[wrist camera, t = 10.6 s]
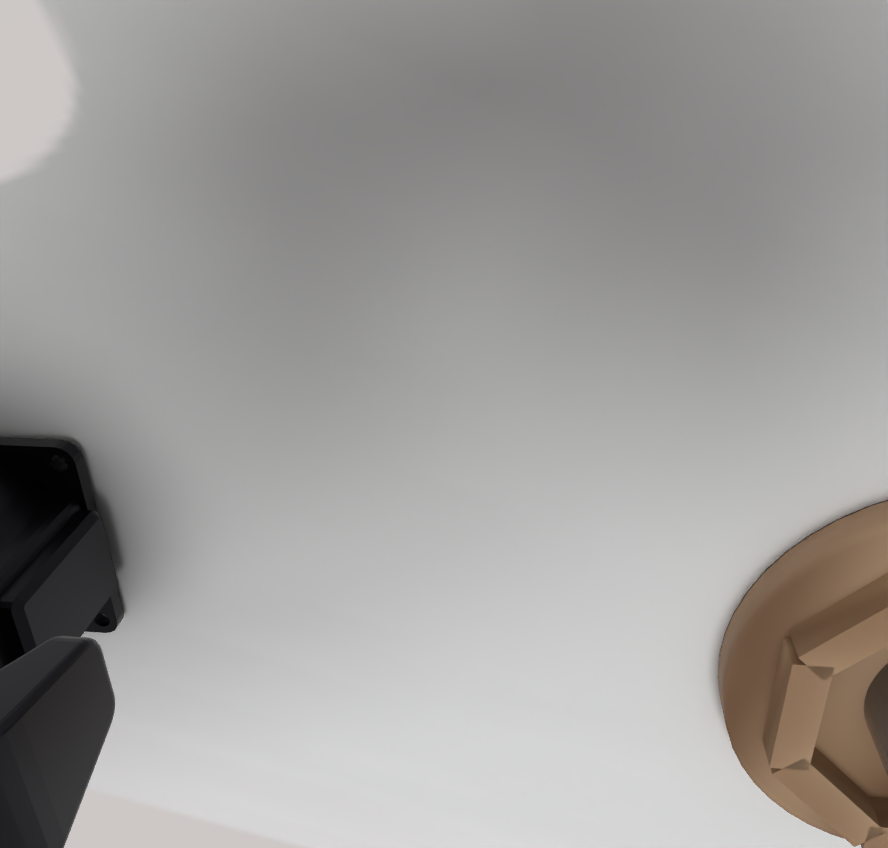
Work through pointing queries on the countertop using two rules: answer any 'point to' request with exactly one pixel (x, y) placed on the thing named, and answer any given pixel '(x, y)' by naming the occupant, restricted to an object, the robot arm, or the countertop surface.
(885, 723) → the canister
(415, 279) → the countertop surface
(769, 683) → the trivet
